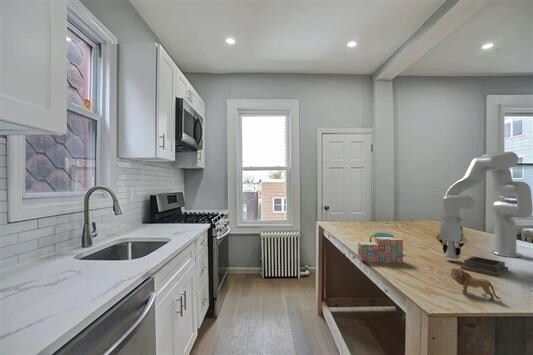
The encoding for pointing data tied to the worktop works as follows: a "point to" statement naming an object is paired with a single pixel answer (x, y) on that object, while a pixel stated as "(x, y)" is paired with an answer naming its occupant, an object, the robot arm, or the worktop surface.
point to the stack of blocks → (381, 250)
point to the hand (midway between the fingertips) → (451, 253)
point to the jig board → (484, 266)
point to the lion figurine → (472, 282)
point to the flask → (451, 251)
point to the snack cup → (381, 235)
